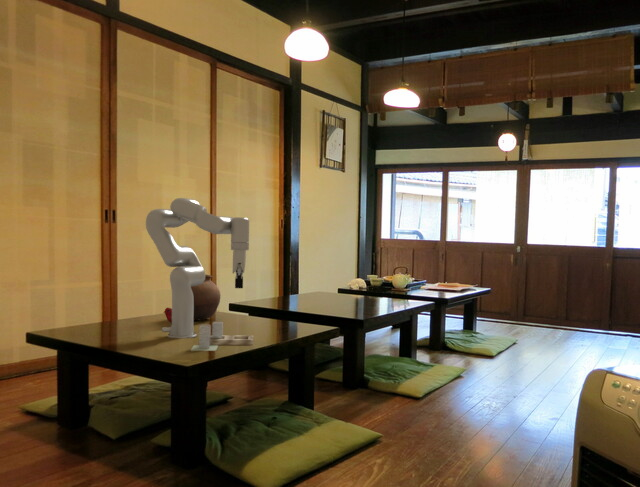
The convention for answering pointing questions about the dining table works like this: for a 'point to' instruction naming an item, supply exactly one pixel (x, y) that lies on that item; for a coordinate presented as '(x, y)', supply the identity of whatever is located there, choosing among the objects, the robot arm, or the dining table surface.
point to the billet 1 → (204, 336)
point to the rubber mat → (196, 348)
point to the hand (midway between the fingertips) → (239, 286)
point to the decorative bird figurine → (168, 314)
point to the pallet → (233, 340)
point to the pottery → (205, 299)
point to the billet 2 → (217, 330)
